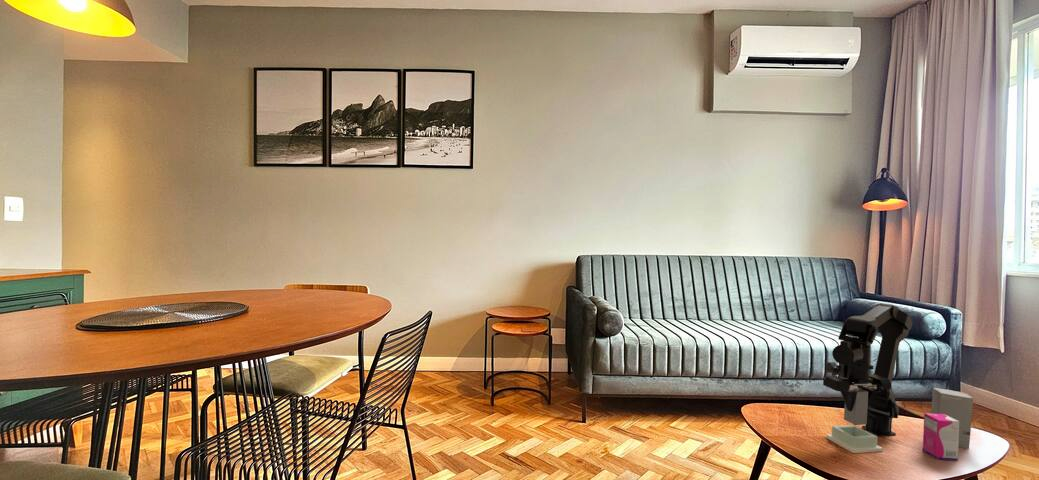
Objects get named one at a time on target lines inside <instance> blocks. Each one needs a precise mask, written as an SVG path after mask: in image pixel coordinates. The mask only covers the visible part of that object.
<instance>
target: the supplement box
mask: <svg viewBox="0 0 1039 480" xmlns="http://www.w3.org/2000/svg"><path fill="white" fill-rule="evenodd" d="M922 433H923V435H922V437H923V438H922V450H923V452H925V453H927V454H928V455H930V456H931V457H933V458H934V459H936V460H945V461H957V460H958V461H959V447H958V442H959V421H957V420H955V419H953V418H951V417H949V416H947V415H945V414H932V413H931V412H930V413H929V412H928V413H927V412H924V414H923V432H922Z"/></svg>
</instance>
